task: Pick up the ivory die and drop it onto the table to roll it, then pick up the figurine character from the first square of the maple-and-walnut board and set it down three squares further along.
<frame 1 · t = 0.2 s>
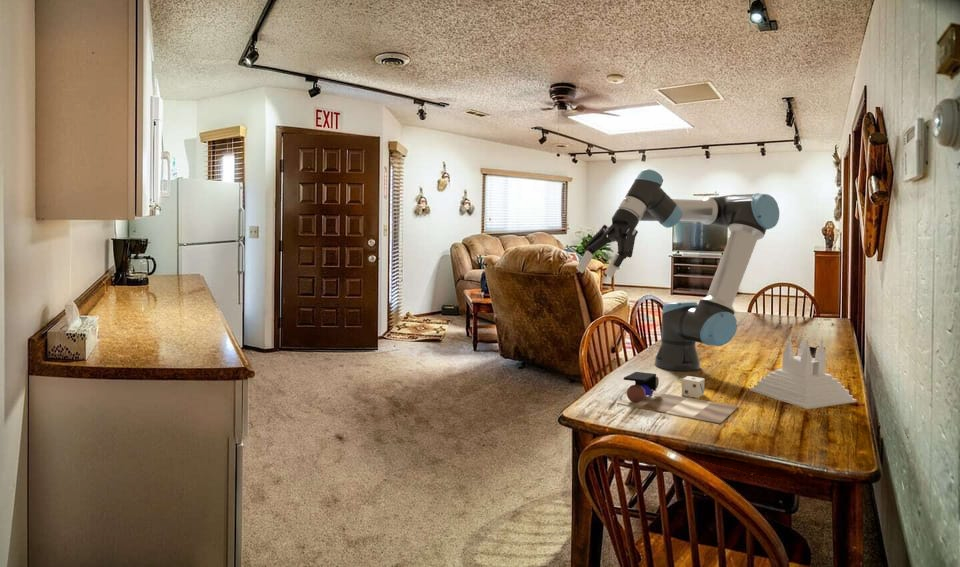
hand: (593, 272, 184), 35 cm above the table, tool tilted 35°, fingers open, 13 cm apart
board: (677, 405, 172), on the table
castle model: (801, 397, 185), on the table
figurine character: (640, 398, 178), resting on board
mug: (809, 382, 202), on the table
die: (692, 395, 184), on the table
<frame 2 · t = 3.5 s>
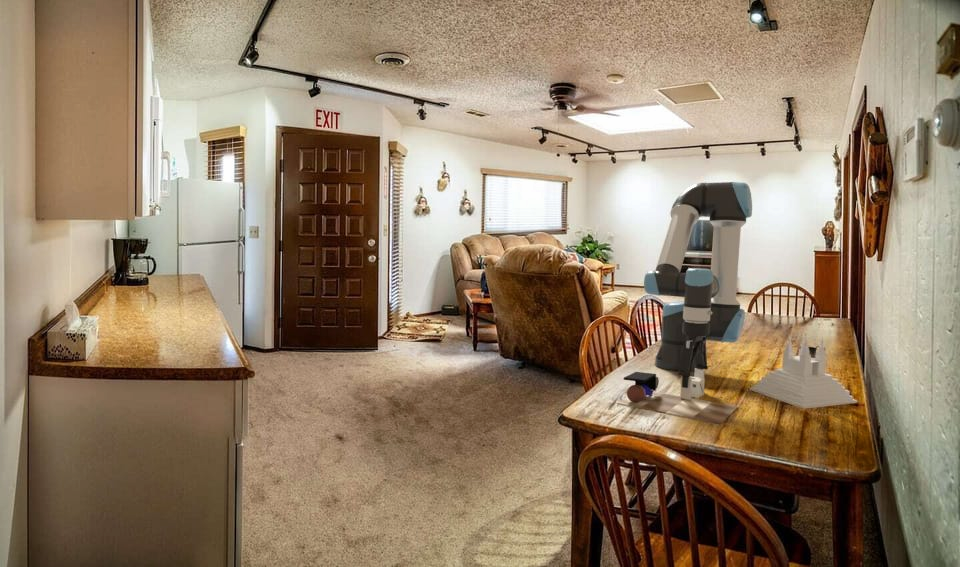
hand: (691, 394, 183), 0 cm above the table, tool pointing down, fingers open, 12 cm apart
nothing on the table moved.
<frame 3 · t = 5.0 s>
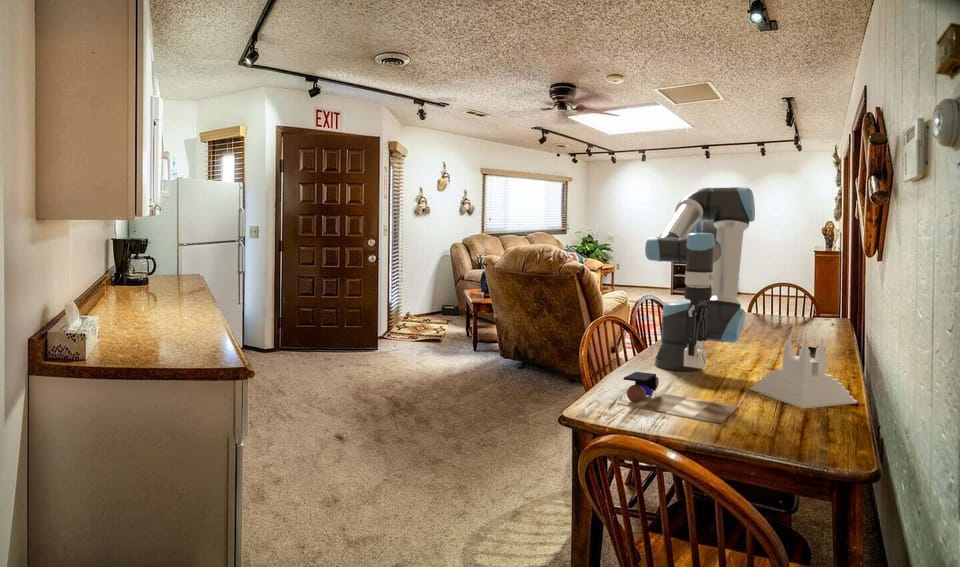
hand: (694, 364, 183), 9 cm above the table, tool pointing down, fingers closed on die, 5 cm apart
die: (694, 365, 183), point 9 cm above the table, touching gripper
everything else where it was.
when the fingers open (2 cm above the table, at t = 14.6 s): die stays where it is, on the table.
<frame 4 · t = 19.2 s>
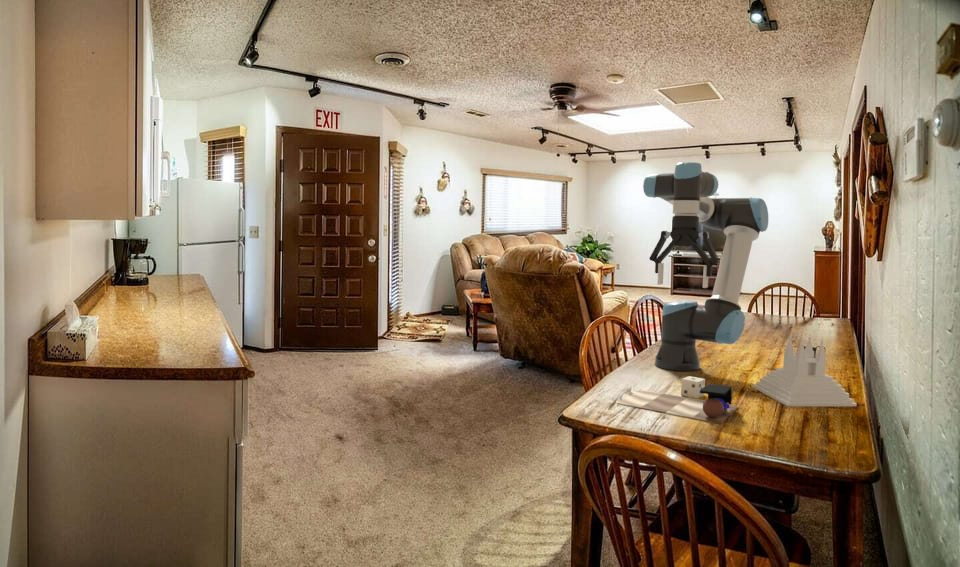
hand: (682, 286, 187), 32 cm above the table, tool pointing down, fingers open, 13 cm apart
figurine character: (715, 412, 166), resting on board
die: (692, 395, 183), on the table
at the end: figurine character inside the target area (0.0 cm from its centre), resting on board; the gripper is holding nothing; die on the table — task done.
